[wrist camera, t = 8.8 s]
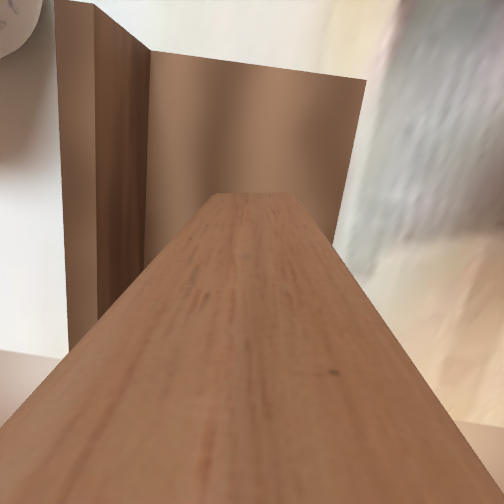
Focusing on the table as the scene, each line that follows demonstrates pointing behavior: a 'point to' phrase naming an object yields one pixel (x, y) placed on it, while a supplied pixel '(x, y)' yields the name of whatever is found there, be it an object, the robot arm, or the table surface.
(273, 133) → the walnut shelf
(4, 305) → the table surface
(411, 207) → the table surface
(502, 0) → the table surface
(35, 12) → the teacup
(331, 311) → the wooden block
